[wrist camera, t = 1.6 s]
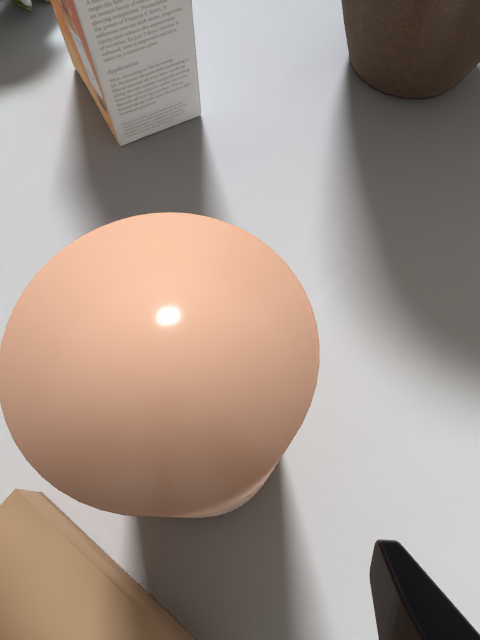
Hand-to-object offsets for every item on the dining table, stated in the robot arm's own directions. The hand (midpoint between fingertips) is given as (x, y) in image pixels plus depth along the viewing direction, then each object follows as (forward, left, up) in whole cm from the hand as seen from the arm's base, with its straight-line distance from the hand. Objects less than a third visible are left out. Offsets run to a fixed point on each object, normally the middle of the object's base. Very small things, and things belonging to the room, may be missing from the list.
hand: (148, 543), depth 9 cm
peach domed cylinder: (+3, +2, -11) cm, 11 cm away
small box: (+17, +19, -11) cm, 28 cm away
